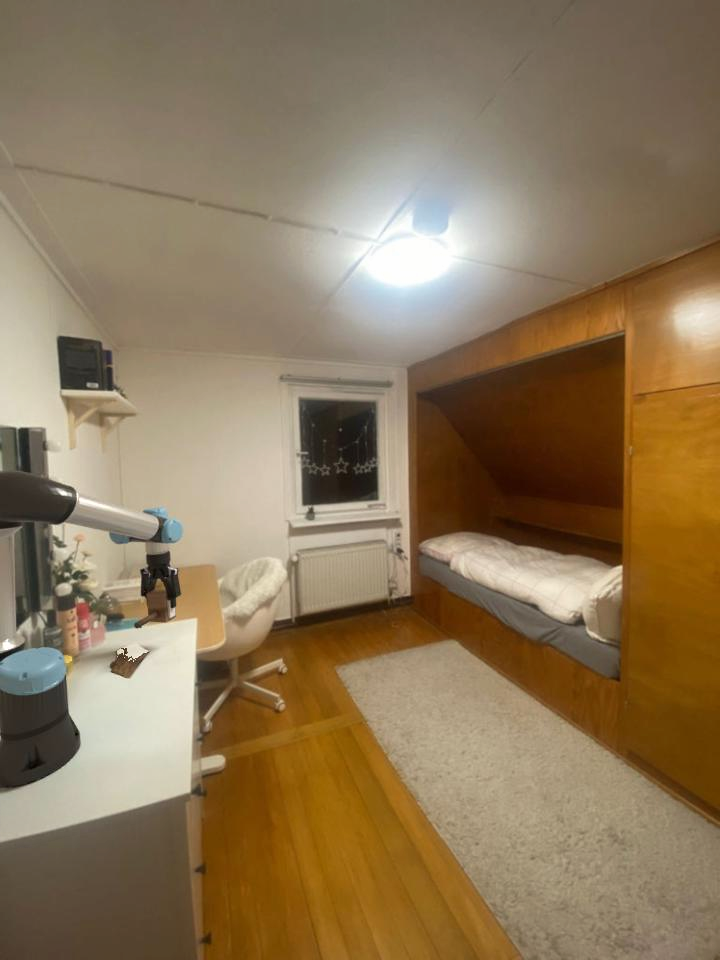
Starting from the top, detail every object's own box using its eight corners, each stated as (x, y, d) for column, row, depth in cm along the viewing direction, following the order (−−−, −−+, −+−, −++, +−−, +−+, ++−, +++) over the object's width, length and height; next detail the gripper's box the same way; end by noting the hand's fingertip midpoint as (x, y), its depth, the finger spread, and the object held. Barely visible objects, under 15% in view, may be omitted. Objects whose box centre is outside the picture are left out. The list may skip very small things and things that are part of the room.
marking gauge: (146, 634, 124) (144, 604, 123) (128, 633, 125) (126, 603, 125) (176, 616, 137) (174, 589, 137) (159, 615, 139) (157, 588, 138)
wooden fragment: (117, 647, 139) (117, 644, 139) (152, 640, 143) (152, 638, 143) (102, 685, 115) (102, 681, 115) (144, 675, 119) (144, 672, 119)
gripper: (190, 549, 136) (194, 613, 137) (141, 549, 140) (145, 610, 141) (175, 555, 129) (180, 622, 130) (125, 554, 133) (129, 619, 134)
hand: (162, 616), depth 136 cm, fingers closed on marking gauge, 7 cm apart
